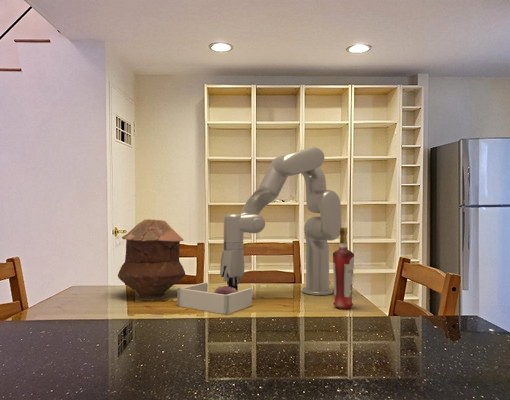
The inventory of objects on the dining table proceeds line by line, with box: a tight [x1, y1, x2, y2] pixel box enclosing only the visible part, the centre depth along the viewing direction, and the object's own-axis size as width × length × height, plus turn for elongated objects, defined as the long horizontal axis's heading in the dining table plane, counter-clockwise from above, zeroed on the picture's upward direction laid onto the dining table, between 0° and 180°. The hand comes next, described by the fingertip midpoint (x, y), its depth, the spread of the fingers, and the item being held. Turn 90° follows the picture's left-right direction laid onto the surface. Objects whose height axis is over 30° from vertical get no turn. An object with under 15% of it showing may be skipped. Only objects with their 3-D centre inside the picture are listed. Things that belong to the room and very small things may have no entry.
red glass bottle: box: [332, 226, 355, 310], centre depth 137 cm, size 7×7×28 cm
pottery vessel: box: [117, 219, 186, 298], centre depth 156 cm, size 26×26×30 cm
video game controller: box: [213, 285, 239, 295], centre depth 143 cm, size 10×5×7 cm, turn 63°
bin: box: [176, 282, 253, 316], centre depth 138 cm, size 15×21×6 cm
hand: (232, 295), depth 147 cm, fingers closed
